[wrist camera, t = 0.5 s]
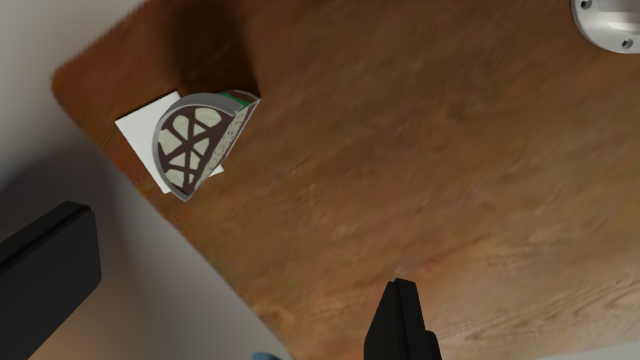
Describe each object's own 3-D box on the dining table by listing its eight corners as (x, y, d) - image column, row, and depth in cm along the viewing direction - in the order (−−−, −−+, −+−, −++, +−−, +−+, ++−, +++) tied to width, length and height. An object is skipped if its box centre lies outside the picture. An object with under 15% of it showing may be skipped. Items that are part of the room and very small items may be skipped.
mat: (177, 90, 40) (176, 91, 40) (224, 169, 44) (223, 170, 44) (116, 121, 43) (114, 121, 43) (165, 192, 47) (164, 193, 47)
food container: (220, 54, 38) (173, 68, 29) (267, 87, 39) (235, 111, 30) (179, 138, 43) (129, 172, 34) (221, 165, 44) (183, 205, 35)
